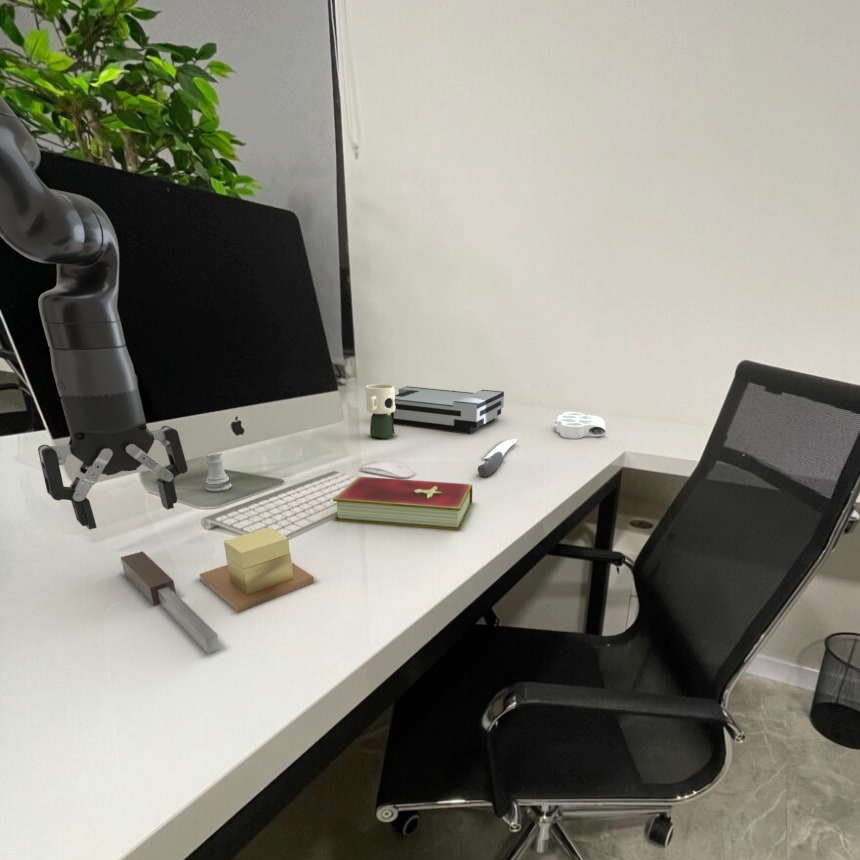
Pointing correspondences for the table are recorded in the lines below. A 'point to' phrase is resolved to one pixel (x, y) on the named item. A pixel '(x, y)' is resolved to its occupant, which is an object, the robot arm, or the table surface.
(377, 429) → the character mug
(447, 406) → the game console
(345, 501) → the hardcover book
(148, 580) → the butter knife
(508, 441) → the kitchen knife
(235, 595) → the butter board
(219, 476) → the rook chess piece
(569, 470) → the table surface
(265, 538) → the butter pat
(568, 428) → the white dimpled palette
